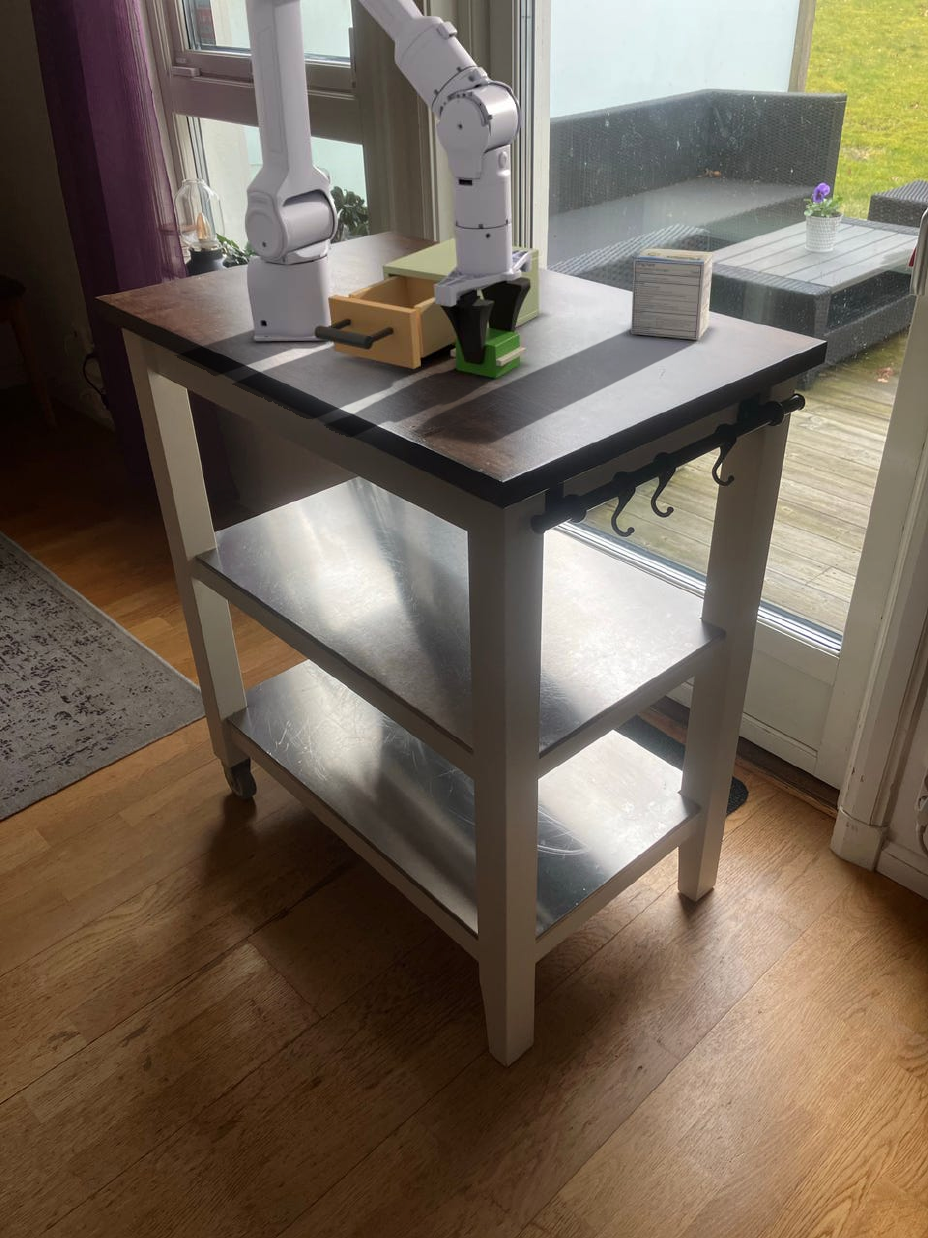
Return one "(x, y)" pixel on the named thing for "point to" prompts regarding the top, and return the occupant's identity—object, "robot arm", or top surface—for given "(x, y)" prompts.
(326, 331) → the drawer
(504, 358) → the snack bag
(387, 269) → the cabinet
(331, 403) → the top surface
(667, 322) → the medicine box
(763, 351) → the top surface
